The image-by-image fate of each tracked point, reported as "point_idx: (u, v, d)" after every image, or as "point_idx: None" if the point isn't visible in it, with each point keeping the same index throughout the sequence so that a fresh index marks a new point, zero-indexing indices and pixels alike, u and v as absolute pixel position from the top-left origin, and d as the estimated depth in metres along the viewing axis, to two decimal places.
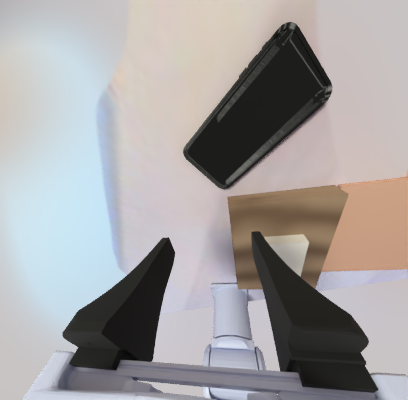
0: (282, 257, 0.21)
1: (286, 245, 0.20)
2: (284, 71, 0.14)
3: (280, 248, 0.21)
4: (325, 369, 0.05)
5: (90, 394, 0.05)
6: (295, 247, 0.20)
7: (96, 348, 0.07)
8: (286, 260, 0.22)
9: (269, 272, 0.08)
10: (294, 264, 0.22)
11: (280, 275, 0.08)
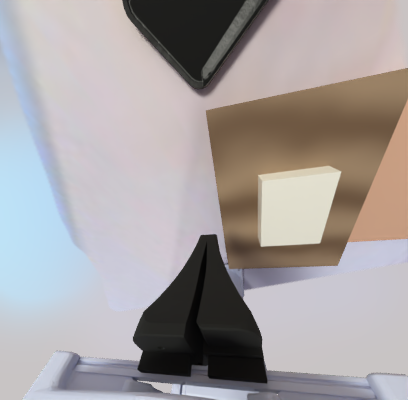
0: (294, 205, 0.14)
1: (302, 181, 0.12)
2: None
3: (291, 186, 0.13)
4: (229, 362, 0.06)
5: (90, 394, 0.05)
6: (317, 184, 0.12)
7: (164, 352, 0.07)
8: (300, 212, 0.14)
9: (206, 274, 0.09)
10: (312, 218, 0.14)
11: (213, 277, 0.08)
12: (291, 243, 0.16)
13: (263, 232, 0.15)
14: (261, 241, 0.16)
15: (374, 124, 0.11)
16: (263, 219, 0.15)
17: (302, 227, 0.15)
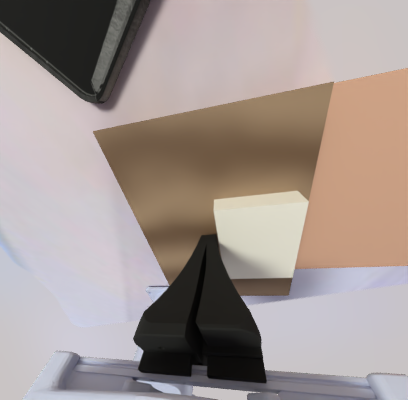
0: (257, 238, 0.11)
1: (262, 211, 0.10)
2: None
3: (250, 216, 0.10)
4: (228, 362, 0.06)
5: (90, 394, 0.05)
6: (280, 215, 0.10)
7: (165, 352, 0.07)
8: (265, 244, 0.11)
9: (205, 274, 0.09)
10: (280, 252, 0.12)
11: (213, 277, 0.08)
12: (259, 276, 0.13)
13: (225, 264, 0.13)
14: None
15: (292, 150, 0.09)
16: (222, 251, 0.12)
17: (269, 261, 0.12)
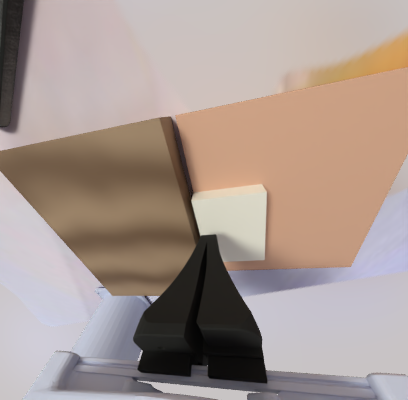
0: (229, 224, 0.13)
1: (230, 201, 0.12)
2: None
3: (221, 205, 0.12)
4: (229, 362, 0.06)
5: (90, 394, 0.05)
6: (246, 203, 0.12)
7: (164, 352, 0.07)
8: (237, 230, 0.13)
9: (206, 274, 0.09)
10: (250, 236, 0.14)
11: (213, 277, 0.08)
12: (236, 259, 0.16)
13: None
14: None
15: (153, 171, 0.11)
16: None
17: (243, 244, 0.14)
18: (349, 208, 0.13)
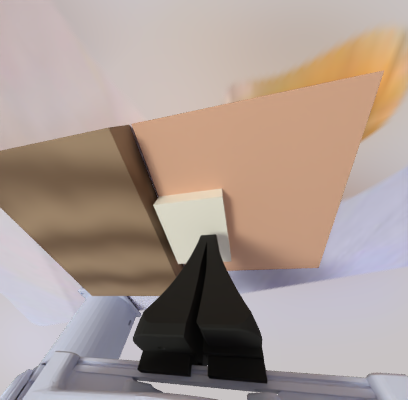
0: (193, 227, 0.14)
1: (190, 205, 0.12)
2: None
3: (182, 209, 0.13)
4: (229, 362, 0.06)
5: (90, 394, 0.05)
6: (205, 207, 0.12)
7: (164, 352, 0.07)
8: (200, 232, 0.14)
9: (206, 274, 0.09)
10: None
11: (213, 277, 0.08)
12: None
13: (174, 250, 0.16)
14: (177, 259, 0.16)
15: (111, 177, 0.11)
16: (169, 239, 0.15)
17: None
18: (308, 211, 0.14)
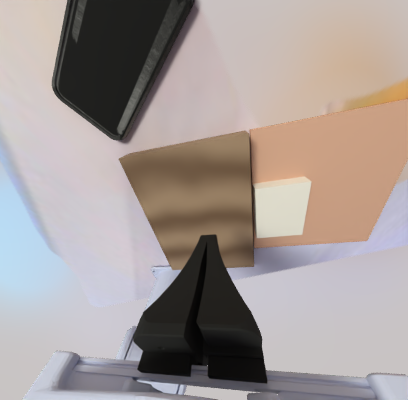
0: (280, 206, 0.18)
1: (284, 188, 0.17)
2: None
3: (276, 192, 0.17)
4: (229, 362, 0.06)
5: (90, 394, 0.05)
6: (295, 190, 0.17)
7: (164, 352, 0.07)
8: (285, 210, 0.18)
9: (206, 274, 0.09)
10: (294, 215, 0.19)
11: (213, 277, 0.08)
12: (280, 235, 0.20)
13: (258, 226, 0.20)
14: (257, 234, 0.21)
15: (235, 168, 0.16)
16: (257, 217, 0.19)
17: (287, 222, 0.19)
18: (368, 193, 0.18)
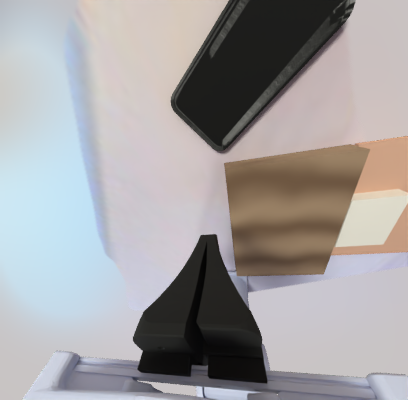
0: (371, 217, 0.19)
1: (381, 201, 0.17)
2: None
3: (373, 204, 0.18)
4: (229, 362, 0.06)
5: (90, 394, 0.05)
6: (392, 202, 0.17)
7: (164, 352, 0.07)
8: (374, 221, 0.19)
9: (206, 274, 0.09)
10: (382, 226, 0.19)
11: (213, 277, 0.08)
12: (360, 244, 0.21)
13: (340, 236, 0.20)
14: (336, 243, 0.21)
15: (342, 181, 0.16)
16: (343, 227, 0.20)
17: (372, 232, 0.20)
18: None
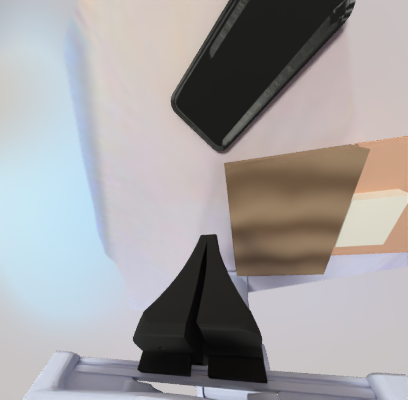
0: (371, 217, 0.19)
1: (381, 201, 0.17)
2: None
3: (373, 204, 0.18)
4: (229, 362, 0.06)
5: (90, 394, 0.05)
6: (392, 202, 0.17)
7: (164, 352, 0.07)
8: (374, 221, 0.19)
9: (206, 274, 0.09)
10: (382, 226, 0.19)
11: (213, 277, 0.08)
12: (360, 244, 0.21)
13: (340, 236, 0.20)
14: (336, 243, 0.21)
15: (342, 181, 0.16)
16: (343, 227, 0.20)
17: (372, 232, 0.20)
18: None
